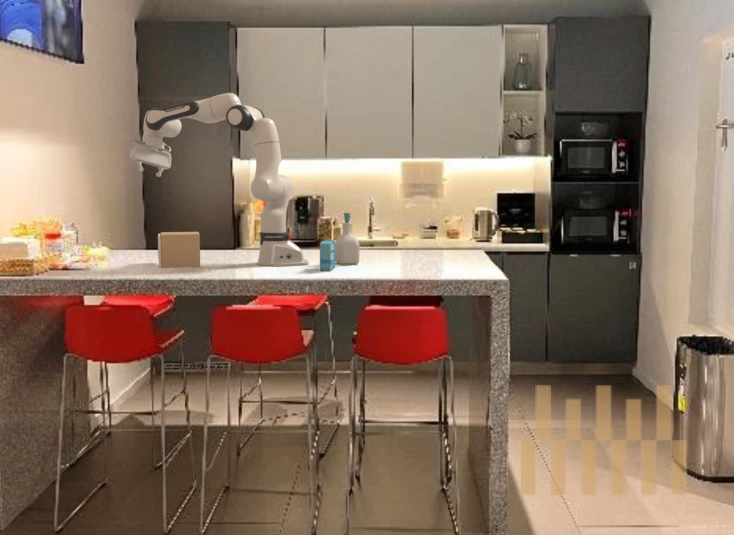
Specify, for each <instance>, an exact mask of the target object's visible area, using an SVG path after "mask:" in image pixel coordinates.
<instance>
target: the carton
mask: <svg viewBox="0 0 734 535" xmlns="http://www.w3.org/2000/svg"><path fill="white" fill-rule="evenodd" d="M160 234H161V255H162V264H161V269H172V268H179V269H180V268H201V240H200V238H201V236H200V233H199V231H170V232H169V231H167V232H164V231H163V232H160Z"/></svg>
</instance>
